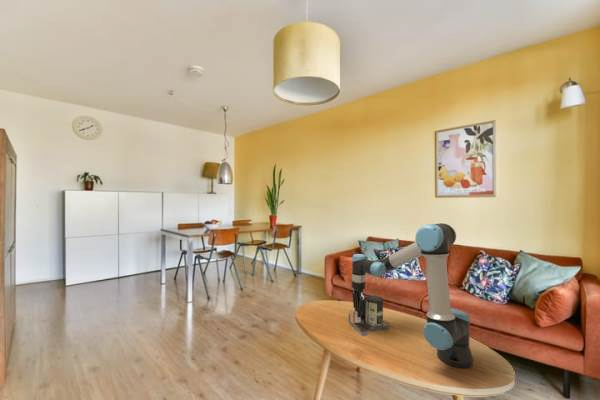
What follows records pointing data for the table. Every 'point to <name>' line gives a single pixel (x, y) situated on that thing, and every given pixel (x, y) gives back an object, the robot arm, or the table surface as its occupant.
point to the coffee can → (374, 310)
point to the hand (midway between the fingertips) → (357, 321)
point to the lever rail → (358, 327)
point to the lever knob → (352, 315)
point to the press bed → (368, 326)
